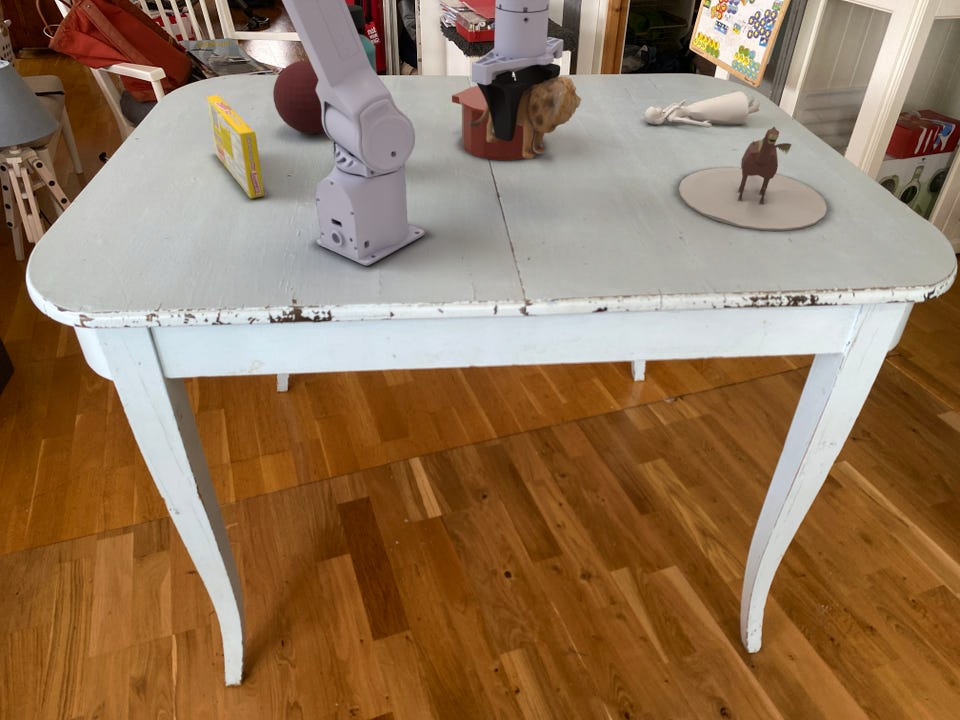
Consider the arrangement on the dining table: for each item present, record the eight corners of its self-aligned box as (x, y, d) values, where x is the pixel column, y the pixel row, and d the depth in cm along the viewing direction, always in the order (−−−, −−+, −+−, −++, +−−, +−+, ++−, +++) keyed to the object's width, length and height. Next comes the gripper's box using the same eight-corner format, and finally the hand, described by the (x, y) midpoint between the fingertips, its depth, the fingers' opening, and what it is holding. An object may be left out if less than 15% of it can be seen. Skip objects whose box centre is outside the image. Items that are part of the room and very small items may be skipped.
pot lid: (513, 127, 92) (515, 90, 89) (440, 106, 98) (439, 71, 96) (565, 103, 100) (568, 68, 97) (494, 85, 106) (495, 52, 103)
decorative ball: (350, 120, 110) (343, 52, 104) (342, 144, 102) (334, 72, 96) (286, 120, 110) (275, 52, 104) (273, 143, 102) (260, 71, 96)
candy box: (267, 196, 88) (255, 130, 83) (250, 200, 87) (237, 134, 82) (231, 153, 99) (219, 93, 94) (216, 156, 98) (202, 95, 93)
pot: (527, 172, 95) (529, 125, 91) (432, 142, 103) (430, 97, 99) (572, 147, 102) (577, 103, 99) (480, 121, 111) (481, 79, 107)
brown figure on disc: (832, 240, 81) (865, 148, 74) (673, 217, 85) (690, 128, 78) (820, 179, 95) (847, 97, 88) (683, 162, 99) (699, 82, 92)
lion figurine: (578, 159, 82) (592, 78, 77) (551, 168, 78) (564, 84, 73) (482, 126, 89) (489, 50, 84) (454, 133, 86) (459, 55, 81)
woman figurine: (775, 103, 105) (658, 114, 104) (769, 132, 108) (655, 144, 107) (743, 80, 115) (634, 90, 113) (738, 107, 117) (632, 118, 116)
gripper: (511, 24, 68) (506, 159, 77) (590, 1, 77) (578, 124, 86) (456, 13, 72) (456, 144, 80) (537, -8, 81) (530, 111, 89)
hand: (516, 133), depth 83 cm, fingers closed on lion figurine, 4 cm apart
